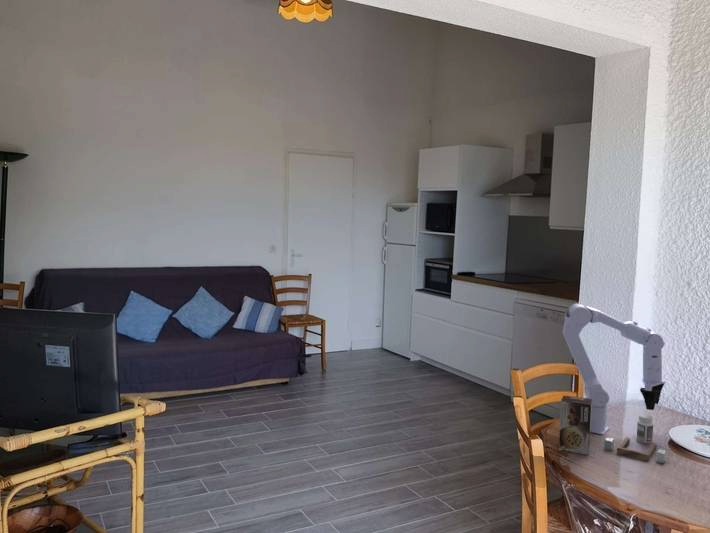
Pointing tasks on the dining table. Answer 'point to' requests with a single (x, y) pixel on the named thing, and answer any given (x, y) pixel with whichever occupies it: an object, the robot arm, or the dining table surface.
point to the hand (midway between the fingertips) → (652, 406)
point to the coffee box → (575, 424)
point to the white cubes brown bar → (635, 454)
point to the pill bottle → (645, 429)
